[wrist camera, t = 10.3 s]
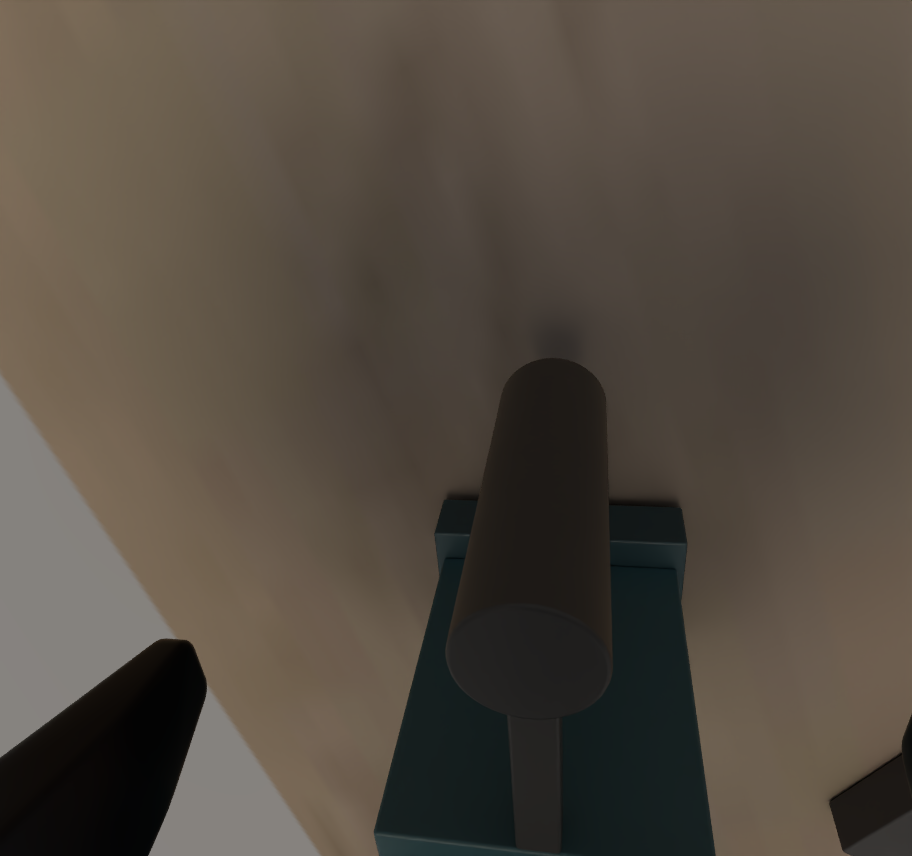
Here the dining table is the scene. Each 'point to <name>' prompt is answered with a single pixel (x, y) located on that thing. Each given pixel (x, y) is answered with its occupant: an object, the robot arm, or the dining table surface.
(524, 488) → the iron
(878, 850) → the switch block
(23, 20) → the dining table surface
